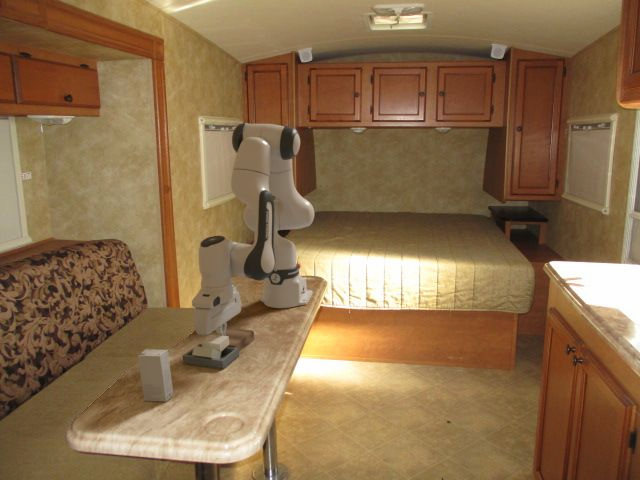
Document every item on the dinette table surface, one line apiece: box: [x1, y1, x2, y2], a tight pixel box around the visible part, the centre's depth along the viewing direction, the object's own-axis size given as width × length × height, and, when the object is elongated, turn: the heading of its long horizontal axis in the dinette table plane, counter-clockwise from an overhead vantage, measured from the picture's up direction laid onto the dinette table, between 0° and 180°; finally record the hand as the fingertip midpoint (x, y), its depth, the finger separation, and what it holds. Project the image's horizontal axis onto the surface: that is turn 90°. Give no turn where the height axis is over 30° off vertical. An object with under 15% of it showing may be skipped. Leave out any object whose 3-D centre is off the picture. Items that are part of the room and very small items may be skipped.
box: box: [181, 342, 240, 371], centre depth 148 cm, size 9×13×2 cm
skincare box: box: [137, 348, 174, 403], centre depth 127 cm, size 6×4×12 cm
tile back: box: [201, 333, 229, 352], centre depth 150 cm, size 5×6×2 cm
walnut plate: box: [215, 327, 255, 353], centre depth 158 cm, size 12×10×3 cm
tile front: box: [192, 345, 221, 359], centre depth 146 cm, size 5×6×2 cm
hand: (221, 337), depth 153 cm, fingers closed
